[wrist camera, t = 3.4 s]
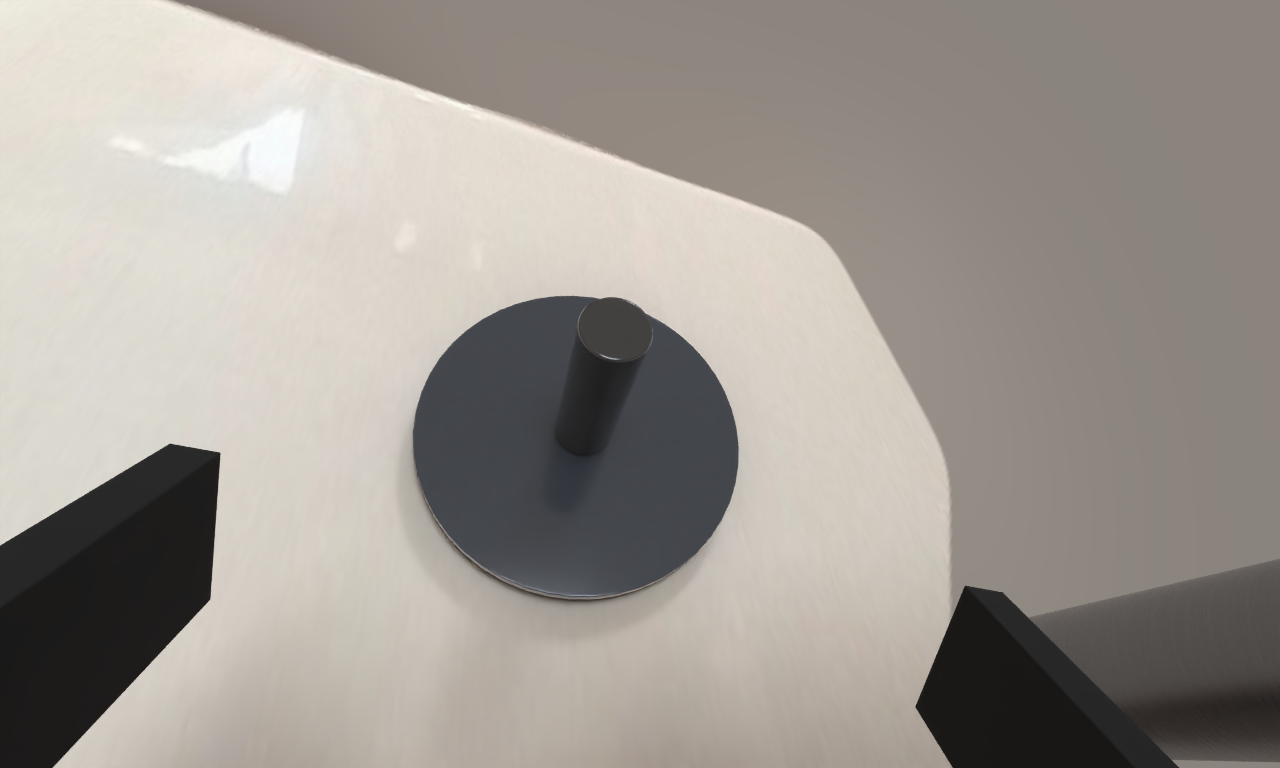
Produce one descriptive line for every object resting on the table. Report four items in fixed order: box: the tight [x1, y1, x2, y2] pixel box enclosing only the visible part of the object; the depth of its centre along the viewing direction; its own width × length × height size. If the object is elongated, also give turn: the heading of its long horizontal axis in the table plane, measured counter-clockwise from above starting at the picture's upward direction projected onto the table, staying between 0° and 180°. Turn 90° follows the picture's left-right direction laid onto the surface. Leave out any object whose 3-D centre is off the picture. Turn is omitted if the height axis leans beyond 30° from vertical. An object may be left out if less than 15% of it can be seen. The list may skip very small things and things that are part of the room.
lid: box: [413, 296, 738, 600], centre depth 27 cm, size 15×15×10 cm
